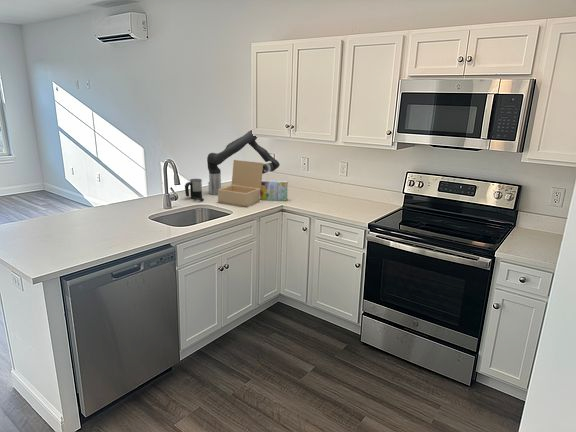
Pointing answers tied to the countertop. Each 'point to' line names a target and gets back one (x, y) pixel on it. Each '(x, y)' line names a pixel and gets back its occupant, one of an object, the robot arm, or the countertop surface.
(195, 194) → the milk frother
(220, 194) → the carton
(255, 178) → the carton lid
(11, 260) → the countertop surface
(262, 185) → the snack box
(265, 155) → the robot arm
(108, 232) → the countertop surface
